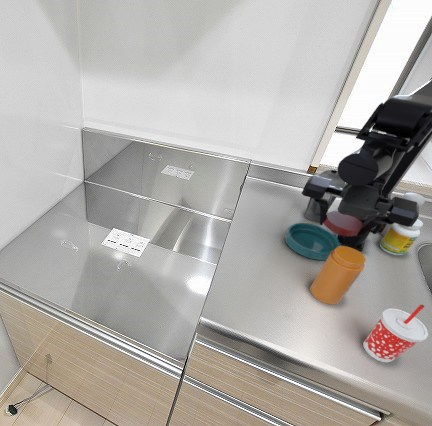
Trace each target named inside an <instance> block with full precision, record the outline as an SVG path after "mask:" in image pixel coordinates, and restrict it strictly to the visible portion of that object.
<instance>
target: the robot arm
mask: <svg viewBox="0 0 432 426" xmlns="http://www.w3.org/2000/svg"><path fill="white" fill-rule="evenodd" d="M371 129H372V130H371ZM355 139H356V140H361V141H364V142H363V144H362V146H361V147H360V148H359V149H357V150H354V151H353V152H351V153H350V154H347V156H344V158H342V159H341V160H340V161H339V163H338V165H337V171H338V175H339V177H340V178H341V179H342V180H343V181H344V182H345V186H344V188H343V189H341V188H337V187H334V186H330V185H329V183H330V181H331V179H327V178H323V177H319V176H318V175H315V174H312V175H311V176H309V177H308V179H307V181H306V183H305V184H304V187H303V189H302V192H301V194H302V196H304V197H308V198H309V199H310V198H314V199H313V200H314V201H315V202H317V203H318V204H319V206H320V221H319V225H320V226H323V224H324V220H325V217H326V215H327V214H328V213H329V209H330V208H329V206H330V202H331V199H332V196H335V197H336V198H339V199H341V200H340V202H339V205H338V207H337V211H338V212H339V213H341V214H344V215H349V216H352V217H356V218H357V219H359V220H360V221H361V222H362V224H363V227H362V229H361V230H360V232H359V233H358V234H357V235H355V236H343V235H339V234H337V233H335V235H334V236H335V237H336V238H337V239H338V241H339V243H340V245H341V246H347V247H351V248H353V249H356V250H357V251H359V252H363V250H364V249H365V244H366V239H368V237H369V235H370V233H371V234H372V235H376V234H381V233H382V232H383V230H384V229H385V227H386V226H387V224H390V225H391V224H393V223H397V224H400V225H403V226H407V227H412V226H413V224H414V223H415V222H416V220H417V219H419V217H420V207H419V205H418V203H417V202H414V201H411V200H407V199H403V198H402V197H398V196H393V197H392V193H393V192H394V191H395V189H396V188H397V187H398V185H399V184H400V183H401V181H402V180H403V178H405V176H406V174H407V173H408V172H409V170H410V169H411V168H412V167H413V164H415V162H416V161H417V159H418V158H419V156H420V155H421V154H422V152H423V151H424V150H425V148H426V147H427V145H428V144H429V143H430V142H431V140H432V77H431V78H430V79H429V81H428V82H426V83H424V85H422V86H421V87H418V88H417V89H416V90H414V91H413V92H412V93H410V94H397V95H394V96H391V97H389V98H388V99H386V100H385V101H384V102H380V103H379V104H378V106H377V107H376V108H375V109H374V111H373V112H372V114H371V115H370V116H369V118H368V119H367V120H366V122H365V124H364V125H363V126H362V127H361V129H360V130H359V132H358V133H357V134H356V136H355ZM330 207H331V206H330Z"/></svg>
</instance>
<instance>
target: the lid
mask: <svg viewBox="0 0 432 426" xmlns="http://www.w3.org/2000/svg"><path fill="white" fill-rule="evenodd" d="M323 224H324V226H325V227H326V229H327V230H328V231H330V232H333V233H334V234H336V233H337V234H339V235H343V236H355V235H357V234H358V233H359V232H360V230H361V229H362V227H363V224H362V222H361V221H360V220H359V219H357V218H356V217H352V216H349V215H344V214H341V213H339V212H338V210H332V211H328V212H327V215H326V217H325V220H324V222H323Z"/></svg>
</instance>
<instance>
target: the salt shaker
mask: <svg viewBox="0 0 432 426" xmlns="http://www.w3.org/2000/svg"><path fill="white" fill-rule="evenodd" d="M401 198H403V199H407V200H411V201H414V202H417V203H418V205H419V208H420V207H422V206H423V205H424V204H425V202H426V199H425V197H424V196H423V195H422V194H419V193H415V192H406V193H404V194H403V195H402V196H401ZM393 224H394V223H393ZM393 224H391V225H390V224H387V226H386V227H385V229H384V230H383V232H382V233H380V235H382V236H383V237H384V236H385V235H386V234H387V232H388V231H389V229H390V228H391V226H392V225H393Z"/></svg>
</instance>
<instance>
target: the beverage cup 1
mask: <svg viewBox="0 0 432 426" xmlns="http://www.w3.org/2000/svg"><path fill="white" fill-rule="evenodd" d="M317 176H319V177H323V178H327V179H331V181H330V183H329V185H330V186H334V187H337V188H341V189H343V188H344V186H345V184H346V182H344V181H343V180H342V179H341V178H340V177H339V175H338V170H335V169H328V170H324V171H322V172H321V173H319V174H318V175H317ZM313 199H314V198H310V197H309V199H308V203H307V206H306V208H305V213H304V216H305V217H306V218H307V219H308V220H310V221H314V222H320V206H319V204H318V203H317V202H315V201H314V200H313ZM336 199H337V197H335V196H332V199H331V202H330V206H329V209H330V208H331V207H332V205H333V204H334V202H335V200H336Z"/></svg>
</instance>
